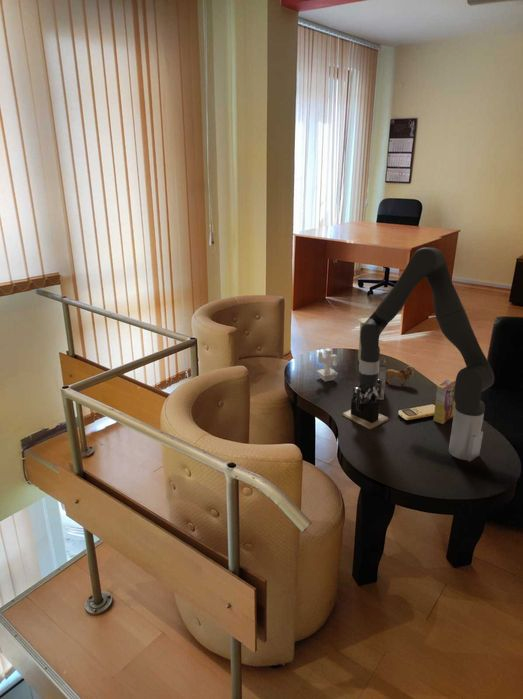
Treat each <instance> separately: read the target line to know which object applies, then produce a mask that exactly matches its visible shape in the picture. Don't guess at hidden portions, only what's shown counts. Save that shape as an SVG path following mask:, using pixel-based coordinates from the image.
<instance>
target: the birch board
mask: <svg viewBox="0 0 523 699" xmlns="http://www.w3.org/2000/svg"><path fill="white" fill-rule="evenodd" d="M342 416H344V417H345V418H347V419H349V420H351V421H353V422H355V423H356V424H359V425H361V426H362V427H365V428H367V429H368V430H371V429H373V428H375V427H377V426H379V425H381V424H383V423H385V422H387V421H389V417H388V416H386V415H383V414H382V413H380V412H379V416H378V420H376V421H375V422H373V423H370V422H368V421H366V420H364V419H361V418H359V417H357V416H355V415H352V414H351V409H348V410H347V411H343V412H342Z"/></svg>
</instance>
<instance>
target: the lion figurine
mask: <svg viewBox="0 0 523 699" xmlns="http://www.w3.org/2000/svg"><path fill="white" fill-rule="evenodd" d="M415 372H416V371H415V367H414V366H411V365H407V366H406V368H403V369H401V370H395V369H392V368H391V369H387V370H386V381H385V382H388V385H389V386H392V384H393V383H392V382H391V379H392V377H393V378H394V379H396V380H401V382H400V383H401V384H402V387H404V388H405V387H407V386H406V384H405V383H406V381H407V380H410V379H411V378H412V377H413V376H414V375H415Z"/></svg>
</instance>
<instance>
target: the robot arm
mask: <svg viewBox="0 0 523 699" xmlns="http://www.w3.org/2000/svg"><path fill="white" fill-rule="evenodd" d="M424 278H426V281H427V282H428V284H429V287H430V290H431V292H432V299H433V300H432V301H433V309H434V315H435V319H436V321H437V324H438V326H439V328H440V331H441V332H442V334H443V335H444V337H445V338H446V339H447V340H448V341H449V342H450V343H451V344H452V345H453V346H454V347H455V348H456V349H457V350H458V351H459V352H460V354H461V356H462V359H463V361H464V363H465V367H463V368H461V369H460V370H459V371H458V372H457V374H456V377H455V381H456V382H455V392H454V400H455V407H454V416H453V417H452V424H451V432H450V438H449V443H448V444H449V445H448V452H449V454H450V455H451V456H452V457H454V458H456V459H459V460H463V461H468V462H472V461H473V460H475V459H476V458H477V457H479V456H480V453H481V446H482V441H483V435H484V431H483V430H482V426H483V423H484V422H483V421H484V415H485V410H486V404H485V402H484V401H482V400H481V397H482V392H484V391H486V390H487V389H489V388H491V387H492V386H493V385H494V383H495V373H494V371H493V369H492V366H491V364H490V362H489V361H488V359H487V357H486V355H485V354H484V352H483V350H482V348H481V346H480V344H479V341H478V339H477V337H476V335H475V333H474V330H473V328H472V326H471V323H470V320H469V317H468V314H467V312H466V310H465V307H464V305H463V303H462V302H461V299H460V297H459V294H458V293H457V290H456V287H455V286H454V284H453V280H452V278H451V275H450V271H449V269H448V264H447V261H446V257H445V255H444V253H443V252H442V251H441V250H440V249H439V248H436V247H421V248H419V249H417V250H416V251H415V252H414V253H413V254H412V256H411V258H410V259H409V261H408V263H407V265H406V267H405V269H404V270H403V272H402V273H401V275H400V276H399V278H398V280H397V282H396V283H395V284H394V285H393V287H392V288H391V289H390V291H389V292H388V294H386V296H385V297H384V298H383V299H382V301H381V302H380V303H379V304H378V306H377V308H375V311H374V312H373V313H372V314H371V315H370V316H369V317H368V318H369V319H368V320H367V321H366V322H365V323H364V325H363V326H362V328H361V333H360V332H359V337H360V340H361V356H360V362H359V365H358V366H359V367H358V376H357V378H358V382H359V386H358V387H355V386H354V387H353V390H352V398H351V400H352V401H353V402H355V403H356V410H357V411H359V412H360V411H362V401H363V399H365V398H366V397H367V396H369V394H372V395H371V399H370V400H371V401H374V402H376V403H377V400H378V399H377V396H378V394H379V393H381V384H382V380H380V379H378V376H379V357H381V356H380V355H381V354H380V353H381V347H380V346H379V341H380V337H381V336H380V335H381V333H382V332H383V331H384V330H385V328H386V327H387V326H388V325H389V323H390V322H391V321H393V319H394V318H395V317H396V316H397V315H398V314H399V313H400V311H401V310H402V309H403V307H404V306H405V305H406V302H407V301H408V299H409V298H410V295H411V293H412V292H413V290H414V288H416V286H417V285H419V283H420V282H421V281H422V280H424ZM377 388H378V389H377ZM360 397H361V399H360V400H359V398H360ZM355 398H356V399H355Z"/></svg>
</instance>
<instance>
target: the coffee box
mask: <svg viewBox="0 0 523 699" xmlns="http://www.w3.org/2000/svg"><path fill="white" fill-rule="evenodd" d="M387 359H388V358H387V357H384V356H383V357H382V356H379V376H378V379H380V380H382V384H381V393H379V394H378V396H377V400H380V401H381V400H382V401H384V400H385V391H386V382H387V381H386V380H387V378H386V375H387V373H386V371H387V370H388V369H387V366H388V360H387ZM377 389H378V388H377ZM371 395H372V394H368V399H369V400H371Z"/></svg>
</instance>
